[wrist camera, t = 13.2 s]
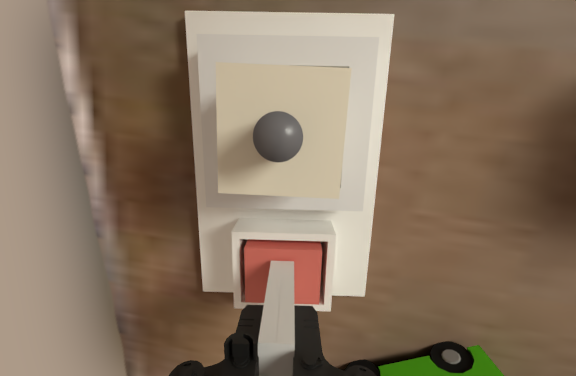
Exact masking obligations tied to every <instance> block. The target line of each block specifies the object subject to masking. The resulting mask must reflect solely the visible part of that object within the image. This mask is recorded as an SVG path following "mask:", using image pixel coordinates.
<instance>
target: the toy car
mask: <svg viewBox="0 0 576 376" xmlns="http://www.w3.org/2000/svg"><path fill="white" fill-rule="evenodd" d="M430 353H431V358H432V360H431V359H430V356H425V357H420V358H415V359H410V360H406V361H401V362H396V363H391V364H387V365H382V366H378V369H379V371H378V369H377V368H376V366H375V365H374V364H373V363H371V362H369V361H367V360H358V361H353V362H351V363H349V365H348V366H347V368H346V369H345V371H346V370H347V369H348V368H349V367H351V366H354V365H361V366H364V367H367V368H368V369H370V370H371V371H373V372H374V374H375V375H376V376H504V375H503V374H502V373H501V371H500V370H499V369H498V368H497V367H496V365H495V364H494V363H493V362H492V361H491V359H490V358H489V357H488V356H487V355H486V353H485V352H484V351H483V350H482V348H481V347H480V346H479V345H477V346H472V347H467V350H466V349H465V348H464V347H463V346H462V345H459V344H456V343H453V342H441V343H437V344H435V345H434V346H433V348H432V350H431V352H430Z"/></svg>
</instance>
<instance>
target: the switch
mask: <svg viewBox="0 0 576 376" xmlns="http://www.w3.org/2000/svg"><path fill="white" fill-rule="evenodd" d="M271 261H294V304H316V305H319V299H320V282H321V264H322V247H321V243H320V241H291V240H255V239H248V240H247V242H246V245H245V248H244V264H245V302H252V303H264V301H265V294H266V288H267V282H268V276H269V269H270V263H271Z"/></svg>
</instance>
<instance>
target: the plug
mask: <svg viewBox="0 0 576 376" xmlns="http://www.w3.org/2000/svg"><path fill="white" fill-rule="evenodd" d="M351 69H352V68H337V67H315V66H293V65H271V64H248V63H226V62H216V109H217V160H218V193H227V194H247V195H268V196H288V197H309V198H329V199H339V194H340V184H341V173H342V163H343V152H344V142H345V131H346V121H347V111H348V100H349V90H350V79H351Z"/></svg>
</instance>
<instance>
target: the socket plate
mask: <svg viewBox="0 0 576 376" xmlns="http://www.w3.org/2000/svg"><path fill="white" fill-rule="evenodd" d="M393 22H394V14H357V13H296V12H235V11H185V23H186V39H187V54H188V70H189V85H190V100H191V116H192V131H193V147H194V162H195V177H196V193H197V208H198V224H199V239H200V254H201V270H202V285H203V291H204V292H234V308H241V309H244V308H245V307H246V305H264V303H252V302H245V264H244V248H245V245H246V242H247V240H248V239H255V240H291V241H320V243H321V247H322V264H321V282H320V299H319V305H316V304H294V305H300V306H313V307H314V309H315V310H316V311H331V300H332V295H334V296H365V288H366V279H367V269H368V260H369V250H370V241H371V231H372V222H373V212H374V203H375V193H376V184H377V174H378V165H379V155H380V146H381V136H382V127H383V117H384V108H385V98H386V89H387V79H388V70H389V60H390V51H391V41H392V32H393ZM216 62H226V63H248V64H271V65H293V66H315V67H337V68H352V69H351V79H350V90H349V100H348V111H347V121H346V131H345V142H344V152H343V163H342V173H341V184H340V194H339V199H329V198H309V197H288V196H268V195H247V194H227V193H218V160H217V109H216Z"/></svg>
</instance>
